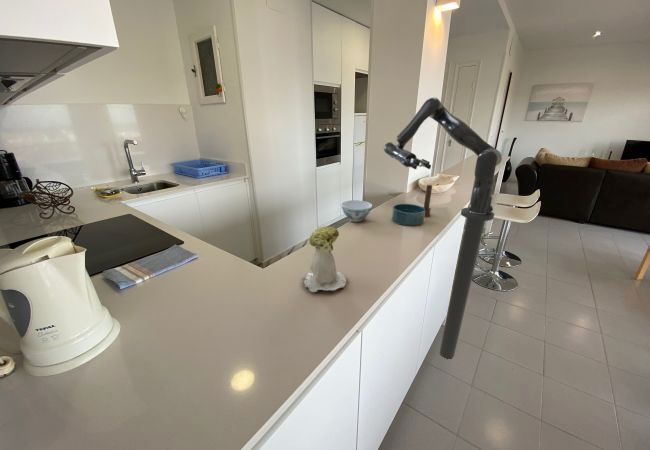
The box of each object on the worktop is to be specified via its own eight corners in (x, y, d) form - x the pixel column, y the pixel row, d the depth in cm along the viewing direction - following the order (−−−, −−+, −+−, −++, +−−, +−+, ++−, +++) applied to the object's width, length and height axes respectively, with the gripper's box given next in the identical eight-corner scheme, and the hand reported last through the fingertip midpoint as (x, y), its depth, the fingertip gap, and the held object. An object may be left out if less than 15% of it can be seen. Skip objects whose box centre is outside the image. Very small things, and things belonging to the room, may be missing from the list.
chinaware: (337, 215, 144) (337, 201, 141) (363, 213, 147) (364, 199, 144) (346, 226, 130) (347, 210, 127) (376, 223, 134) (377, 207, 131)
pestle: (429, 214, 146) (433, 184, 140) (429, 217, 142) (434, 186, 136) (420, 213, 147) (424, 184, 142) (420, 216, 143) (425, 186, 138)
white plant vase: (351, 291, 81) (354, 234, 74) (308, 297, 78) (307, 238, 72) (339, 271, 92) (341, 219, 85) (301, 275, 89) (300, 222, 82)
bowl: (422, 217, 142) (424, 205, 140) (424, 227, 128) (426, 214, 126) (392, 214, 146) (393, 202, 143) (391, 224, 132) (392, 211, 130)
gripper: (396, 151, 153) (413, 160, 139) (418, 151, 157) (436, 160, 144) (394, 164, 156) (409, 174, 143) (415, 164, 161) (432, 174, 147)
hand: (423, 167), depth 143 cm, fingers open, 8 cm apart
